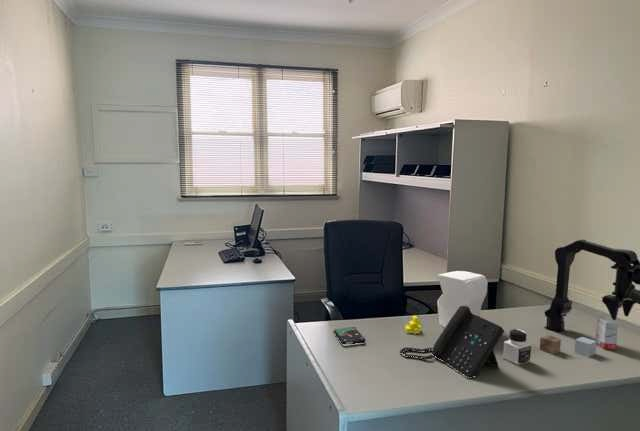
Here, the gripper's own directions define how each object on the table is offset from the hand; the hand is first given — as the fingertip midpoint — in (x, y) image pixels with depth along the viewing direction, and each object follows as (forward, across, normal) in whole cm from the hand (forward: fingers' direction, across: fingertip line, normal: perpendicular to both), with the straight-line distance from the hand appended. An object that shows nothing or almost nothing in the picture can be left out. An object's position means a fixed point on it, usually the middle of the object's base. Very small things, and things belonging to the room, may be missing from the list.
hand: (620, 317), depth 178 cm
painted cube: (+14, -14, +5) cm, 21 cm away
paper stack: (+15, -36, +49) cm, 62 cm away
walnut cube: (+14, -24, +13) cm, 31 cm away
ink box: (+15, +1, +5) cm, 16 cm away
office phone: (+15, -69, +26) cm, 76 cm away
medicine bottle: (+15, -44, +14) cm, 49 cm away
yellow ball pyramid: (+15, -61, +56) cm, 85 cm away
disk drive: (+16, -92, +63) cm, 112 cm away
